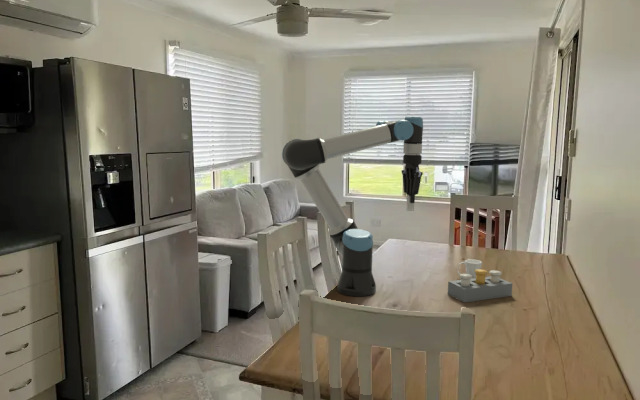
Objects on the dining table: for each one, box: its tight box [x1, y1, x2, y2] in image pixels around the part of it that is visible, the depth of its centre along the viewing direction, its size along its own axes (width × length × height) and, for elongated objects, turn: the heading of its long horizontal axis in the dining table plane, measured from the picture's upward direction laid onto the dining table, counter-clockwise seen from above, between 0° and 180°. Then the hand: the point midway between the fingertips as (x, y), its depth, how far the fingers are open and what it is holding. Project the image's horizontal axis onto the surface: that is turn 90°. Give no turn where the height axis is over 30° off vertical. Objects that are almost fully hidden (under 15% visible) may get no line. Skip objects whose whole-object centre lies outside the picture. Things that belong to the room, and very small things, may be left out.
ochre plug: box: [475, 268, 488, 285], centre depth 179 cm, size 4×4×7 cm
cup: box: [456, 258, 483, 279], centre depth 199 cm, size 7×10×8 cm
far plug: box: [488, 269, 503, 283], centre depth 182 cm, size 4×4×7 cm
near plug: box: [459, 273, 472, 287], centre depth 177 cm, size 4×4×7 cm
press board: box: [447, 275, 513, 303], centre depth 179 cm, size 22×10×5 cm, turn 110°
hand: (410, 210), depth 197 cm, fingers closed
